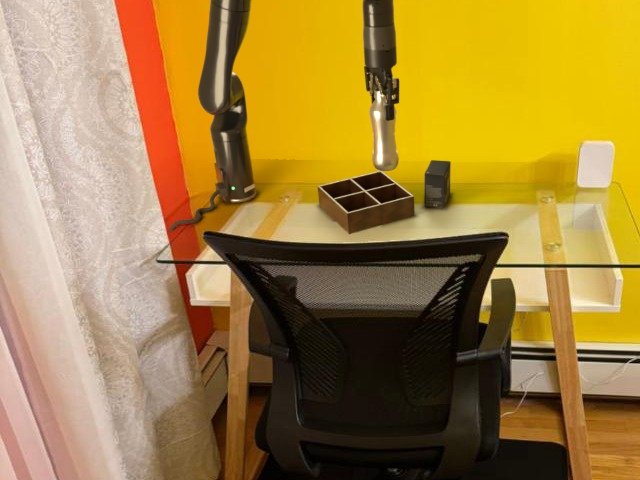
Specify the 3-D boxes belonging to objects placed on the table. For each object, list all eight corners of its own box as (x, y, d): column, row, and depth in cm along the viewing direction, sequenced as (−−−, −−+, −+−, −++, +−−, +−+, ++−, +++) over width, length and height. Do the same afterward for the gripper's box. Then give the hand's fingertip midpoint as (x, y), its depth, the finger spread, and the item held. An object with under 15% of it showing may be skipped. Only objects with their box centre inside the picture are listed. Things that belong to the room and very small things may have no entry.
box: (444, 209, 206) (444, 175, 200) (423, 207, 207) (423, 173, 202) (450, 193, 213) (451, 160, 208) (430, 192, 214) (430, 159, 209)
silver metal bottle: (396, 174, 195) (393, 94, 183) (369, 173, 196) (365, 93, 184) (401, 164, 200) (398, 85, 188) (375, 163, 201) (371, 84, 189)
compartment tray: (348, 233, 197) (347, 213, 193) (319, 205, 210) (317, 186, 207) (414, 216, 203) (414, 196, 200) (382, 189, 217) (381, 170, 213)
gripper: (351, 39, 184) (356, 110, 194) (379, 54, 174) (382, 128, 184) (380, 34, 187) (383, 104, 197) (409, 48, 176) (411, 121, 186)
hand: (383, 115), depth 190 cm, fingers closed on silver metal bottle, 6 cm apart
